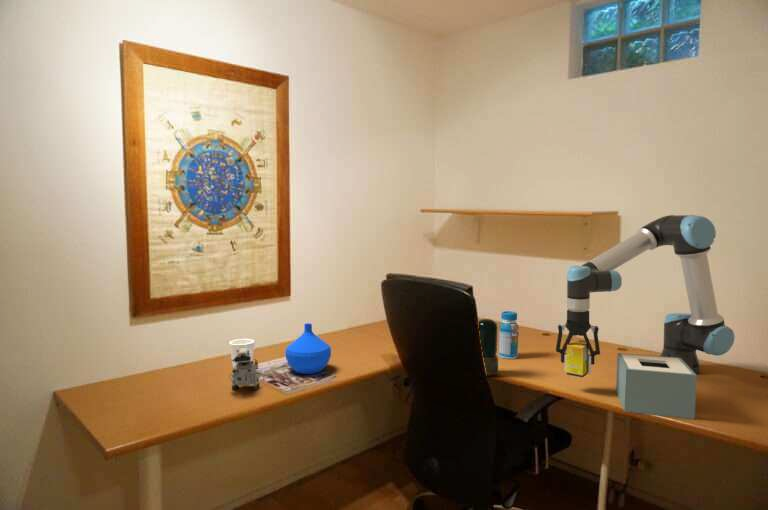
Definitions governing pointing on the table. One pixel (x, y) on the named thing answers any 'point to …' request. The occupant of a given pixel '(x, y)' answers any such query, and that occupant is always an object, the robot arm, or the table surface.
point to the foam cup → (239, 344)
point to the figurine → (244, 370)
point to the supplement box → (577, 359)
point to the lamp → (489, 345)
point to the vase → (308, 353)
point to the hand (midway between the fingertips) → (577, 372)
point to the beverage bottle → (508, 335)
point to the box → (656, 385)
